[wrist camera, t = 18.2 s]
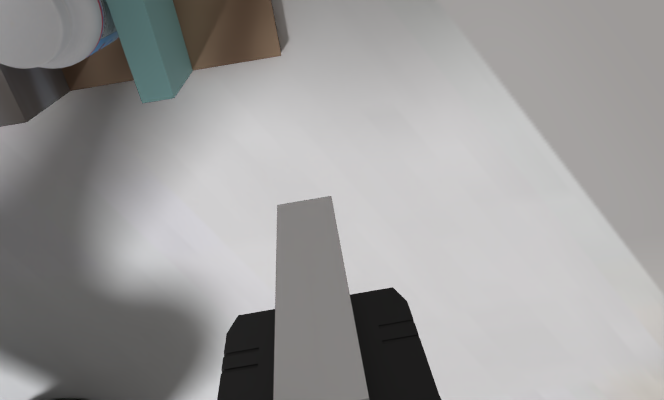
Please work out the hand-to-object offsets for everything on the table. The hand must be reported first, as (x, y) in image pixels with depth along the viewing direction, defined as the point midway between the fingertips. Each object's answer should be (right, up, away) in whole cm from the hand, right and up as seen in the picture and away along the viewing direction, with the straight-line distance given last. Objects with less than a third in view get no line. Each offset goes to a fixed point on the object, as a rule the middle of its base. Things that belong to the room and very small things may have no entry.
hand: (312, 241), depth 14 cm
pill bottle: (-16, +15, +19) cm, 29 cm away
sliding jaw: (-12, +16, +19) cm, 27 cm away
